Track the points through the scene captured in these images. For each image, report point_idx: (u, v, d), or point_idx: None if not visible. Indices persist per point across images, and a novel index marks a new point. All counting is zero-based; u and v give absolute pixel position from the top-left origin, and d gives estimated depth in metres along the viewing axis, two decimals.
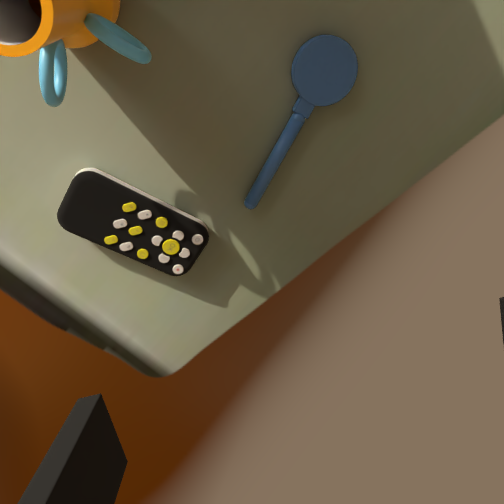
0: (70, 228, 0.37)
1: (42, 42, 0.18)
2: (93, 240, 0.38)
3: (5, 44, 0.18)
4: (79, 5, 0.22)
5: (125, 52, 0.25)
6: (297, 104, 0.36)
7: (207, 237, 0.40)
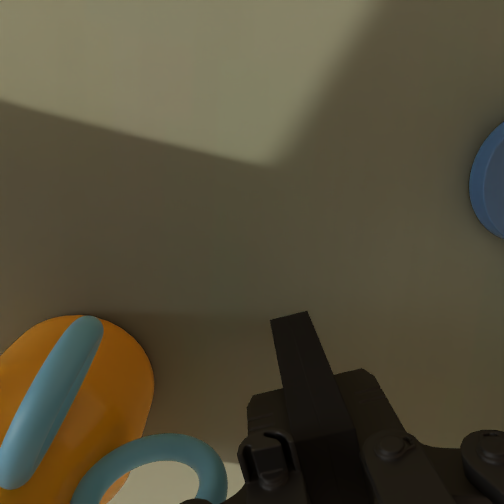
0: None
1: None
2: None
3: None
4: None
5: None
6: None
7: None
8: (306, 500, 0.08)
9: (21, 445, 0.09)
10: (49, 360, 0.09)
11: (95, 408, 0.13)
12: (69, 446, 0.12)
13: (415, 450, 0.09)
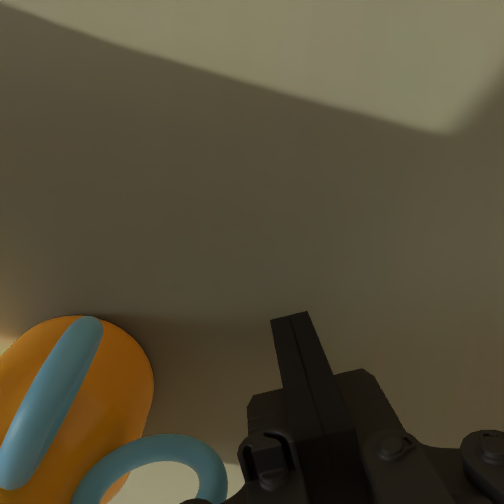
0: None
1: None
2: None
3: None
4: None
5: None
6: None
7: None
8: (306, 500, 0.08)
9: (21, 445, 0.09)
10: (49, 360, 0.09)
11: (95, 408, 0.13)
12: (69, 446, 0.12)
13: (415, 450, 0.09)
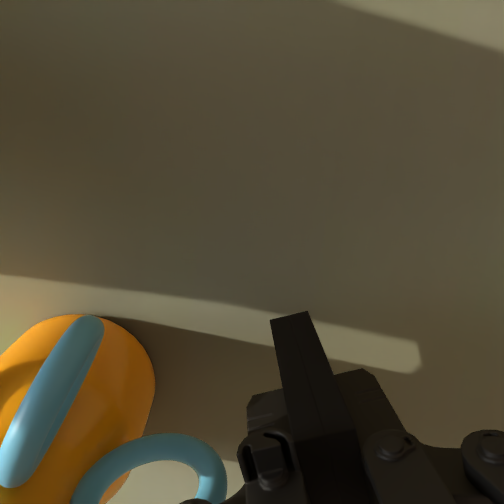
0: None
1: None
2: None
3: None
4: None
5: None
6: None
7: None
8: (305, 500, 0.08)
9: (21, 444, 0.09)
10: (50, 359, 0.09)
11: (96, 407, 0.13)
12: (70, 445, 0.12)
13: (415, 450, 0.09)
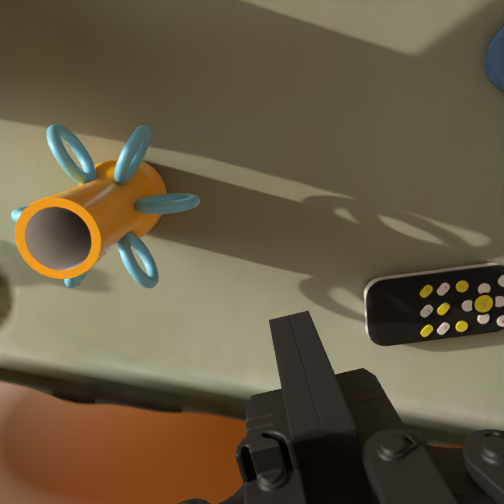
0: (387, 342, 0.38)
1: (99, 245, 0.21)
2: (411, 340, 0.38)
3: (78, 265, 0.21)
4: (121, 200, 0.26)
5: (174, 209, 0.27)
6: None
7: None
8: (304, 500, 0.08)
9: (128, 152, 0.26)
10: (136, 128, 0.26)
11: (144, 179, 0.30)
12: (134, 186, 0.29)
13: (417, 450, 0.09)
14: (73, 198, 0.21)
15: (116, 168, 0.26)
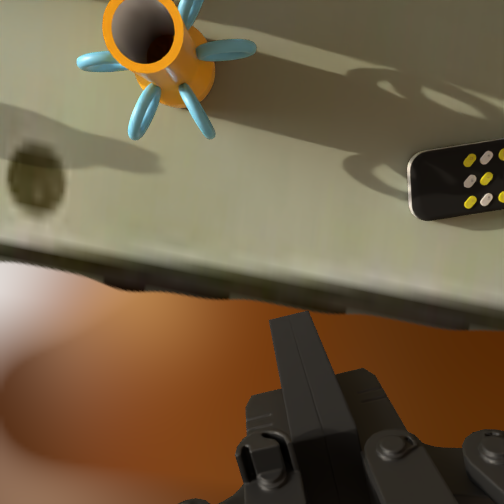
0: (432, 215, 0.38)
1: (181, 37, 0.22)
2: (455, 213, 0.38)
3: (161, 60, 0.22)
4: None
5: (236, 46, 0.28)
6: None
7: None
8: (304, 500, 0.08)
9: None
10: None
11: (199, 35, 0.31)
12: (192, 38, 0.30)
13: (417, 450, 0.09)
14: None
15: (180, 4, 0.27)
